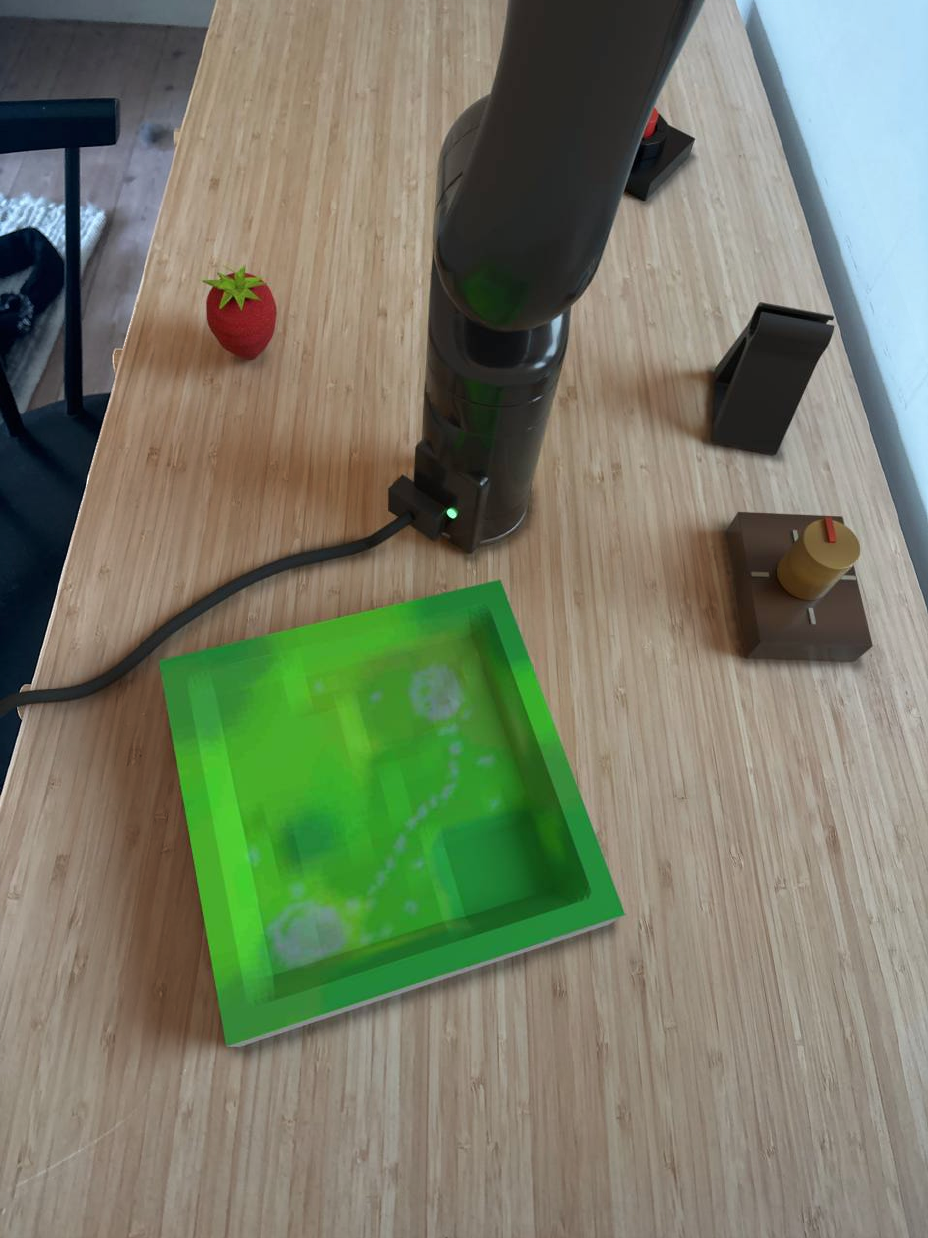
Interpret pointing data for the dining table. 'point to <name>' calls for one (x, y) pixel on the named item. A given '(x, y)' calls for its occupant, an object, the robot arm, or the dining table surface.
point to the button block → (658, 159)
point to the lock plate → (790, 596)
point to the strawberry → (241, 313)
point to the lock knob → (818, 559)
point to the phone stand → (766, 376)
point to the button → (651, 123)
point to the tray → (377, 808)
